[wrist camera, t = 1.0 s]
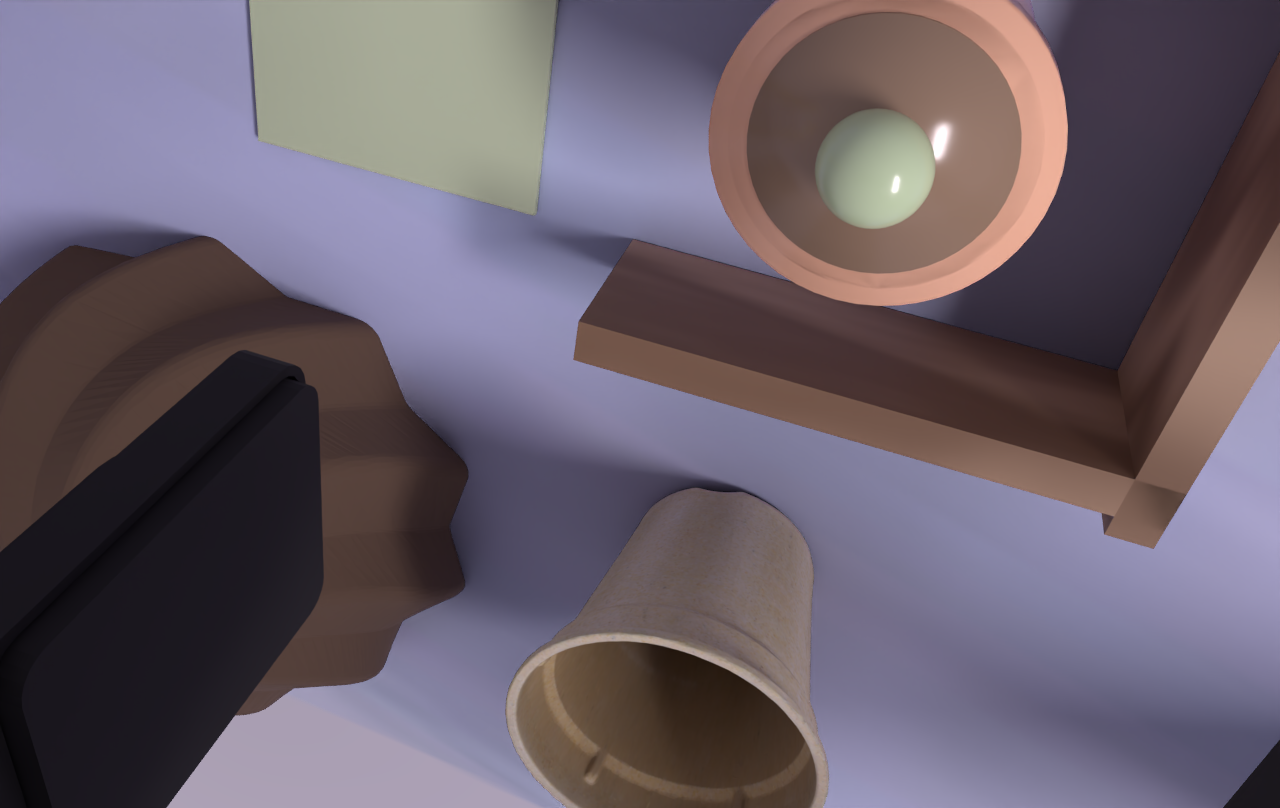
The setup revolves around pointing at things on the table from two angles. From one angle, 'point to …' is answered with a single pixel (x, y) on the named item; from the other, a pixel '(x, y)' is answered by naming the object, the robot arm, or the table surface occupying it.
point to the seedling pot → (889, 142)
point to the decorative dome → (177, 362)
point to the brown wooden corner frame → (984, 358)
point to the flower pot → (682, 670)
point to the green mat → (411, 89)
